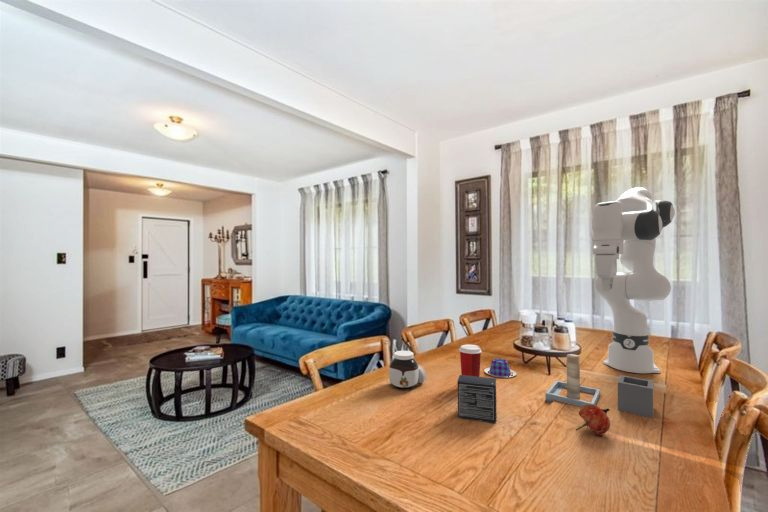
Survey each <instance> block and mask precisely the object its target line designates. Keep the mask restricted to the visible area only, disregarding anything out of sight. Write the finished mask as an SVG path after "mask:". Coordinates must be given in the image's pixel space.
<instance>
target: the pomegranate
mask: <svg viewBox="0 0 768 512" xmlns="http://www.w3.org/2000/svg"><path fill="white" fill-rule="evenodd" d="M610 411H611V409H610V408H609V407H608V408H604V409H603V408H600V406H597V405H590V404H587V405H584V406H583V407H581V408H579V411H578V416H579V417H580V418H581V419H583V422H584V423H583V424H582V425H581V426H579V427H578V428H576V429H575V431H576V432H577V431H578V430H580V429H583V428H584V427H585V426H587V427H588V428H589V429H590V430H592V432H593V434H595V435H596V436H602V435H604V434H606V433H607V432H608V431H609V430H610V427H611V420H610V417H609V416H608V415H607V413H608V412H610Z"/></svg>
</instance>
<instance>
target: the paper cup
mask: <svg viewBox="0 0 768 512" xmlns="http://www.w3.org/2000/svg"><path fill="white" fill-rule="evenodd" d="M458 351H459V355H460V356H459V357H460V359H459V360H460V372H461V373H460V375H466V376H476V377H481V376H480V372H481V358H482V357H481V356H482V355H481V354H482V349H481V347H480V346H479V345H477V344H463V345H462V344H461V346H460V347H459V349H458Z"/></svg>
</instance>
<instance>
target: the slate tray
mask: <svg viewBox="0 0 768 512" xmlns="http://www.w3.org/2000/svg"><path fill="white" fill-rule="evenodd" d="M563 389H567V381H566V382H564V381H560V380H555V381H554V382H553V384H552V385H551V386H550V387H549V388H548V389H547V390H546V392H545V402H548V403H554V401H557V402H561V403H565V404H569V405H574V406H577V407H581V408H582V407H583V406H584V405H587V404H590V405H595V406H597V405H596V404H597V403H598V400H599V398H600V396H601V389H598V388H594V387H589V386H584V385H580V392H582V393H587V394H593V397H592V399H591V402H590V401H585V400H582V399H579V398H577V399H576V398H570V397H568V396H564V395H560V393H561V392H562V390H563Z"/></svg>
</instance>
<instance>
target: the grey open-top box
mask: <svg viewBox="0 0 768 512" xmlns="http://www.w3.org/2000/svg"><path fill="white" fill-rule="evenodd" d="M654 407H655V405H654V380H651V379H647V378H640V377H635V376H630V375H629V376H628V375H624V374H620V375H619V378H618V380H617V410H618V411H619V412H620V411H621V412H625V413H629V414H632V415H633V414H634V415H638V416H641V417H647V418H650V419H654V409H655V408H654Z"/></svg>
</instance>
